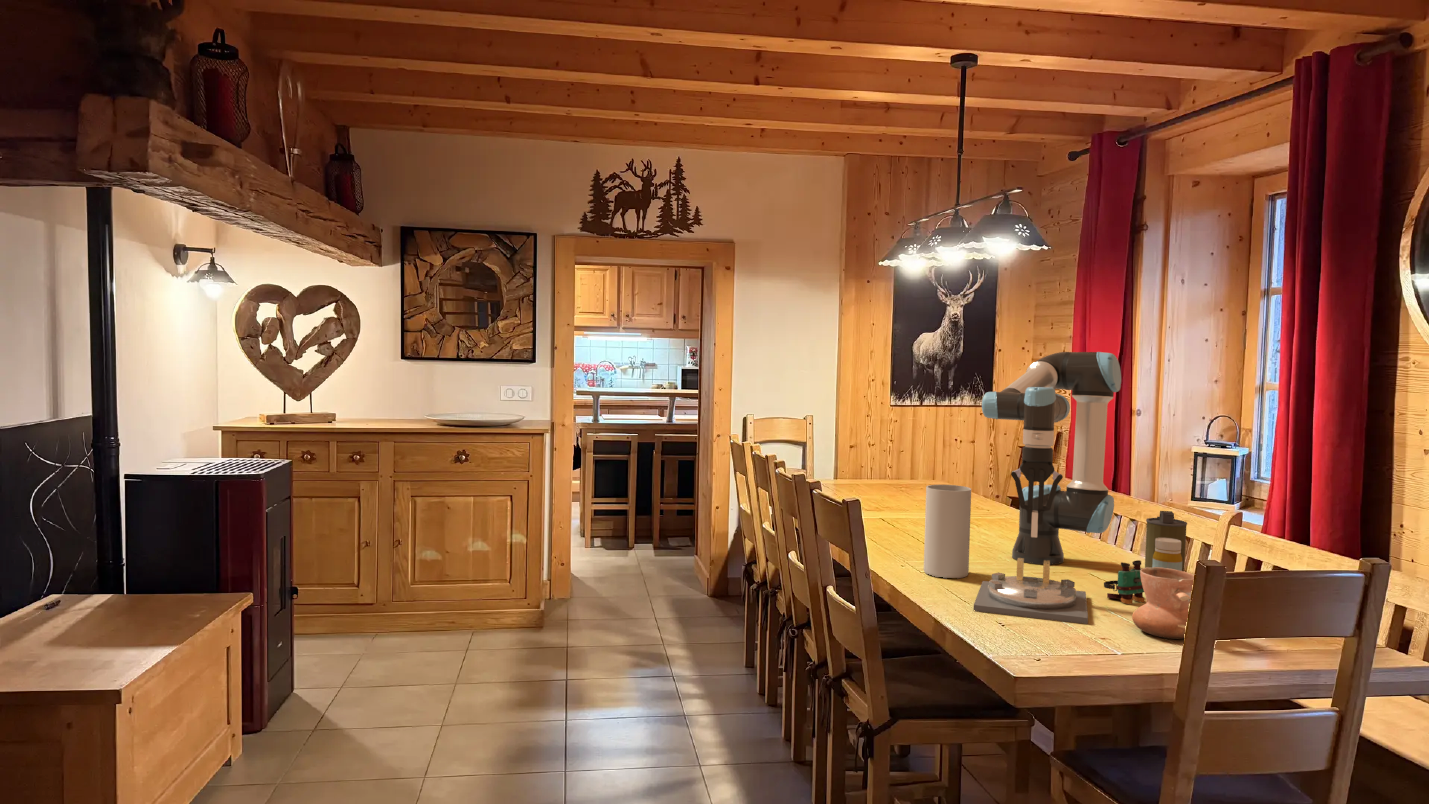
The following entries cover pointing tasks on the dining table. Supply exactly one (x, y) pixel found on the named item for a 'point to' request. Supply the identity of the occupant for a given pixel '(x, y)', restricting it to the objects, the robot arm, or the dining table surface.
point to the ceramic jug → (1164, 602)
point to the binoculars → (1127, 584)
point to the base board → (1067, 615)
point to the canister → (1164, 534)
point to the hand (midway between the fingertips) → (1034, 536)
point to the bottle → (1167, 553)
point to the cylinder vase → (947, 531)
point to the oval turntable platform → (1032, 590)
